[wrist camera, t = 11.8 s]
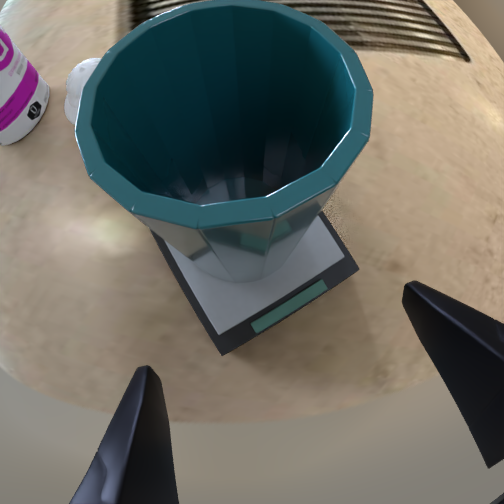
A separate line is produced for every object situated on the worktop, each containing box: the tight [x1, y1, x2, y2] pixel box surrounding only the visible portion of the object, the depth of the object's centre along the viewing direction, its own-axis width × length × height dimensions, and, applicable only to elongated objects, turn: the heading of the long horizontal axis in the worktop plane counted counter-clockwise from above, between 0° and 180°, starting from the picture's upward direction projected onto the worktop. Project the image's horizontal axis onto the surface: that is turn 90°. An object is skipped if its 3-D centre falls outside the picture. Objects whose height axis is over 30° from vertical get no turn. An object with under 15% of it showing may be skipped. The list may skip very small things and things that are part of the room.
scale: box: [149, 211, 359, 356], centre depth 20 cm, size 12×10×3 cm
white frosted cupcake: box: [64, 58, 101, 125], centre depth 20 cm, size 6×6×7 cm
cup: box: [75, 0, 374, 283], centre depth 12 cm, size 7×7×13 cm
